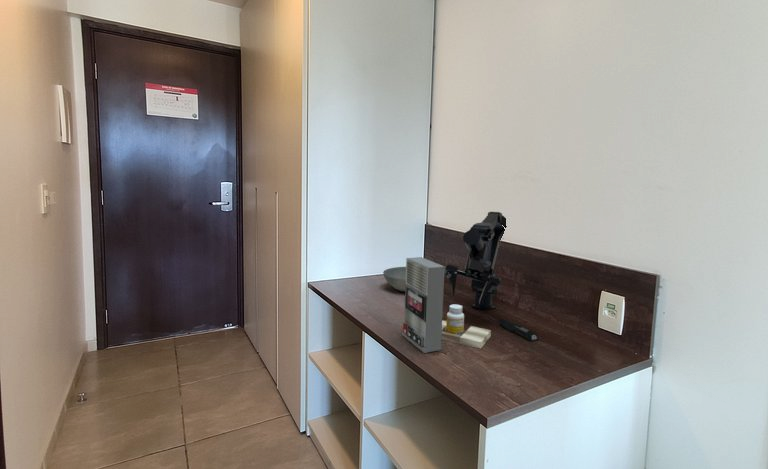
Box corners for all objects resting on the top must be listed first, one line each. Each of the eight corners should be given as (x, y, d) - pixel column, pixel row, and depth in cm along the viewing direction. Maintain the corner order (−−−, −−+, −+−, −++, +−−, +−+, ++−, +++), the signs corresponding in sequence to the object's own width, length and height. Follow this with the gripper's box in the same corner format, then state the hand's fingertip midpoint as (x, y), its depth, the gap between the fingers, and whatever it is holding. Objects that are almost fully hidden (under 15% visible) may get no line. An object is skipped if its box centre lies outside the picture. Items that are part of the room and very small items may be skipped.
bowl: (432, 297, 171) (433, 278, 169) (382, 295, 171) (382, 277, 170) (428, 283, 192) (428, 266, 190) (383, 282, 192) (383, 265, 191)
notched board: (440, 325, 139) (440, 319, 139) (490, 336, 131) (491, 330, 130) (427, 336, 129) (427, 330, 129) (480, 348, 121) (481, 342, 121)
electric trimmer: (504, 324, 142) (505, 316, 142) (539, 341, 128) (539, 331, 128) (496, 326, 140) (496, 317, 140) (530, 343, 127) (530, 333, 126)
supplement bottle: (448, 331, 134) (450, 302, 132) (464, 334, 132) (466, 305, 130) (443, 337, 129) (445, 307, 128) (460, 340, 127) (462, 310, 125)
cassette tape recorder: (401, 336, 129) (403, 258, 125) (418, 333, 132) (421, 257, 128) (423, 354, 117) (426, 268, 113) (441, 350, 119) (445, 266, 115)
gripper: (453, 241, 136) (441, 285, 131) (508, 257, 134) (500, 302, 128) (448, 253, 147) (438, 294, 141) (500, 267, 144) (491, 309, 139)
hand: (466, 299), depth 137 cm, fingers open, 9 cm apart
